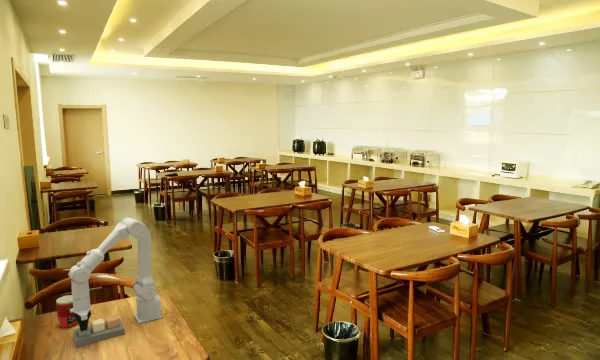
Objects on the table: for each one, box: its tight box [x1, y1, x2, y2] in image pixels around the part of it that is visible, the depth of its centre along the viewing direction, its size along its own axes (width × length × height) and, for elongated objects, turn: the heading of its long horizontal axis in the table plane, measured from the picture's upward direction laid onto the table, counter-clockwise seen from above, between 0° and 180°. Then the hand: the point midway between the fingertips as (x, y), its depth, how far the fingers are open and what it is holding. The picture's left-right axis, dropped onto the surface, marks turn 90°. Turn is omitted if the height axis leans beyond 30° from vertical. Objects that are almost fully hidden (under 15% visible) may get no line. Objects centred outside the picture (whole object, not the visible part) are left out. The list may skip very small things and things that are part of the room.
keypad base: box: [72, 317, 125, 348], centre depth 161 cm, size 17×10×2 cm, turn 123°
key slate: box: [77, 325, 91, 337], centre depth 159 cm, size 4×4×3 cm
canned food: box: [55, 294, 79, 329], centre depth 170 cm, size 8×8×11 cm
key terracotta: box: [105, 314, 119, 329], centre depth 164 cm, size 4×4×3 cm
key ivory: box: [91, 318, 105, 333], centre depth 161 cm, size 4×4×3 cm
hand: (83, 330), depth 158 cm, fingers closed, pressing on key slate
